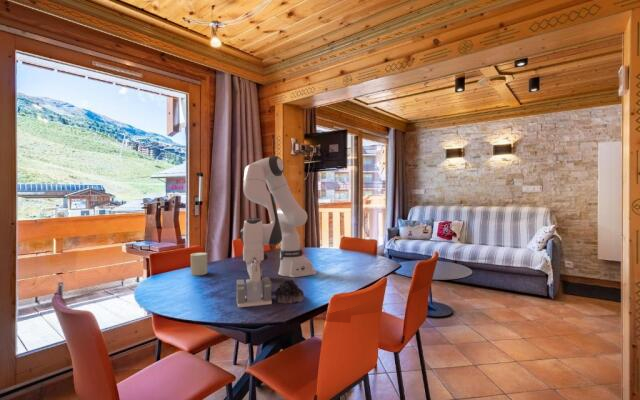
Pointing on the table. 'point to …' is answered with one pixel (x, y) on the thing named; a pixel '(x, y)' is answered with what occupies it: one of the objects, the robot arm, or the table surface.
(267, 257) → the decorative mushroom
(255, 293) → the block
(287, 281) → the dark grey rock
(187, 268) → the table surface
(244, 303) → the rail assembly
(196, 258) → the can
